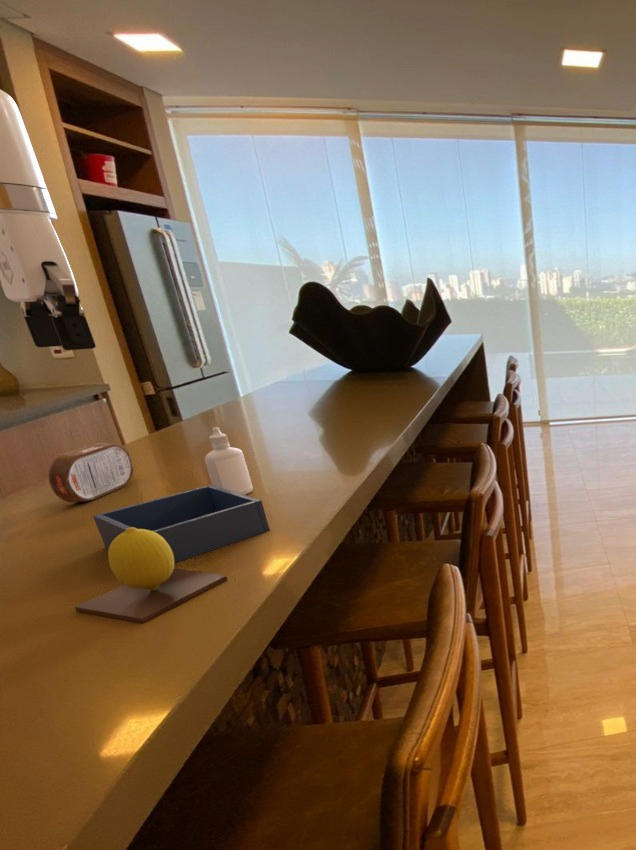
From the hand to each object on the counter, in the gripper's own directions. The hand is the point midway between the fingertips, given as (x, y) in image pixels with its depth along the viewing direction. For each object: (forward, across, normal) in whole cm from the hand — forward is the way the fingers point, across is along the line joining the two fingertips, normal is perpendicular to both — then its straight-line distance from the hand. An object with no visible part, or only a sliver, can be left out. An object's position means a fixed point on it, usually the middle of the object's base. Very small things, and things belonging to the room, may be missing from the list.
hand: (65, 347), depth 76 cm
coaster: (+26, +28, -8) cm, 39 cm away
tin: (+26, -23, +4) cm, 35 cm away
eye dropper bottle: (+26, -1, +15) cm, 30 cm away
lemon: (+26, +28, -8) cm, 39 cm away
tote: (+26, +13, +2) cm, 29 cm away
